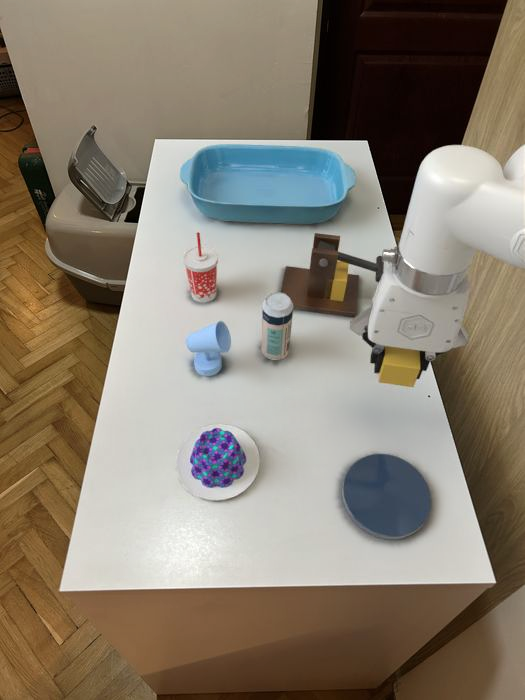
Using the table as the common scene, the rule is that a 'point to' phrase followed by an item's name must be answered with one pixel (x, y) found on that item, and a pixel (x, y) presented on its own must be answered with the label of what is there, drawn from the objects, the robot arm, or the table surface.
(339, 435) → the table surface
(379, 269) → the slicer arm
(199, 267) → the beverage cup
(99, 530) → the table surface
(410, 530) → the plate
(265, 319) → the supplement bottle
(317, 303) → the slicer
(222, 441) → the pudding
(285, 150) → the casserole dish
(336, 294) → the butter
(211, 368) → the spotlight
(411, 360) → the butter pat
